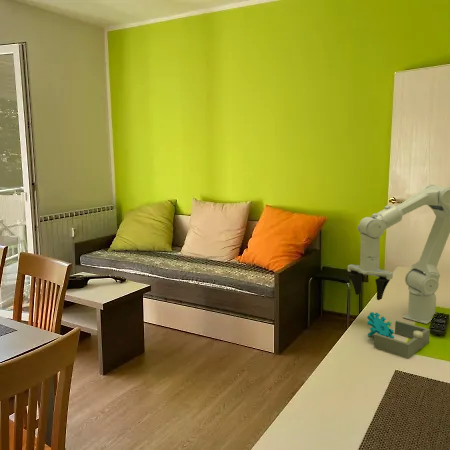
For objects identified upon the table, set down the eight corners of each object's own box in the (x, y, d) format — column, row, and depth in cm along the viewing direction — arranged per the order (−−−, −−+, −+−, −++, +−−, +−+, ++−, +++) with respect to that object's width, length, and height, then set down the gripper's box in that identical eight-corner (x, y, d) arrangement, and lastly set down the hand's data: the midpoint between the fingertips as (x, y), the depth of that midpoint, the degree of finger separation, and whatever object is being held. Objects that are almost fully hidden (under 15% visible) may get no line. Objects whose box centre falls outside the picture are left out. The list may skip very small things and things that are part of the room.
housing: (396, 332, 140) (397, 316, 139) (431, 342, 132) (432, 326, 131) (373, 347, 130) (374, 330, 129) (410, 359, 123) (411, 341, 122)
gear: (383, 343, 129) (364, 313, 134) (369, 353, 132) (350, 322, 137) (403, 337, 136) (384, 308, 141) (388, 346, 140) (370, 317, 144)
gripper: (342, 254, 145) (341, 294, 147) (385, 261, 135) (383, 305, 137) (354, 250, 150) (353, 289, 152) (396, 257, 139) (394, 299, 142)
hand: (368, 296), depth 145 cm, fingers open, 7 cm apart
